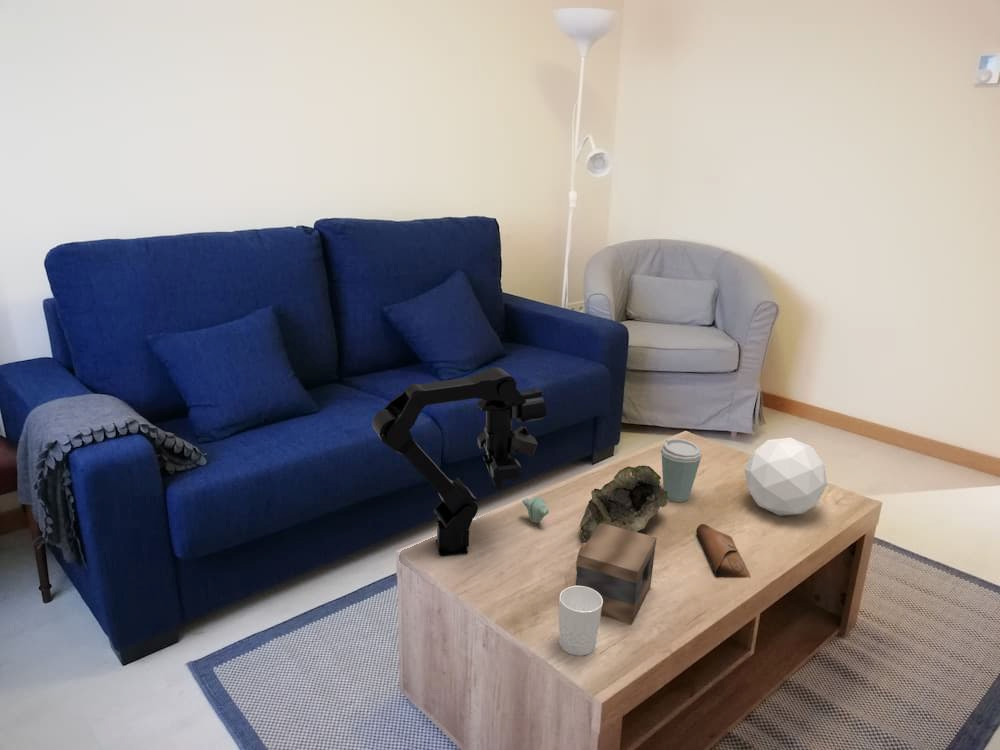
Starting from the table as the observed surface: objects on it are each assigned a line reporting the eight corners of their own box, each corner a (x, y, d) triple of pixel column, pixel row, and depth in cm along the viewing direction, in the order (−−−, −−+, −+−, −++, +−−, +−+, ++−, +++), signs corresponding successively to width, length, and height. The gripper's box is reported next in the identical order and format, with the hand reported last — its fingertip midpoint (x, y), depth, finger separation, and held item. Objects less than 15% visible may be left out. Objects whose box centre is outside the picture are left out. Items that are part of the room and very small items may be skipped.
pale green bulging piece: (518, 518, 179) (520, 493, 177) (530, 513, 182) (531, 488, 180) (542, 531, 174) (543, 506, 172) (553, 526, 177) (555, 501, 174)
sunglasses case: (754, 578, 159) (742, 555, 157) (724, 591, 160) (712, 568, 158) (730, 535, 176) (719, 513, 174) (703, 547, 177) (691, 525, 175)
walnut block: (573, 606, 147) (578, 554, 143) (596, 571, 159) (600, 522, 155) (632, 625, 142) (638, 571, 139) (650, 587, 154) (656, 537, 151)
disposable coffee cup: (701, 495, 195) (709, 443, 190) (688, 511, 186) (695, 457, 181) (663, 483, 200) (670, 433, 195) (649, 499, 191) (655, 446, 187)
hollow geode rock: (649, 523, 189) (621, 471, 193) (685, 505, 180) (655, 451, 184) (581, 561, 170) (551, 502, 173) (618, 543, 161) (585, 482, 165)
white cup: (586, 664, 132) (591, 617, 128) (548, 647, 135) (551, 601, 132) (605, 640, 138) (609, 595, 135) (567, 624, 142) (571, 580, 138)
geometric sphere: (785, 543, 186) (797, 509, 170) (725, 490, 197) (731, 454, 181) (835, 497, 191) (852, 460, 175) (774, 448, 202) (784, 409, 186)
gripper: (546, 439, 154) (543, 505, 159) (524, 406, 171) (522, 467, 176) (494, 444, 152) (493, 510, 157) (477, 410, 169) (477, 471, 174)
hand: (498, 488), depth 166 cm, fingers closed
